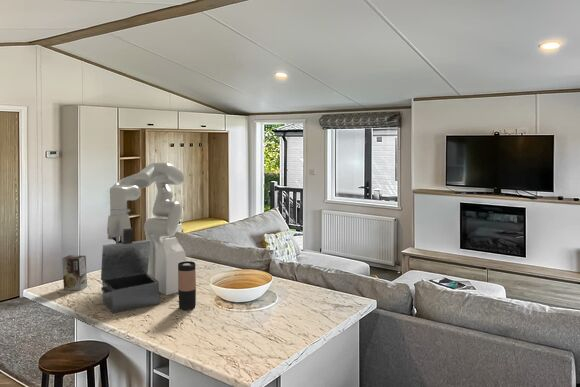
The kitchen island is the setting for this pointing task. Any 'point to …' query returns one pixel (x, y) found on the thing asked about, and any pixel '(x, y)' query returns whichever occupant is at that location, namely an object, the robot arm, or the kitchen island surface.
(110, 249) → the lid
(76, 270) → the coffee box
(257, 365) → the kitchen island surface
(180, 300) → the travel mug
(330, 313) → the kitchen island surface
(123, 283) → the grey lidded box
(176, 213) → the robot arm
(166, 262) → the milk
